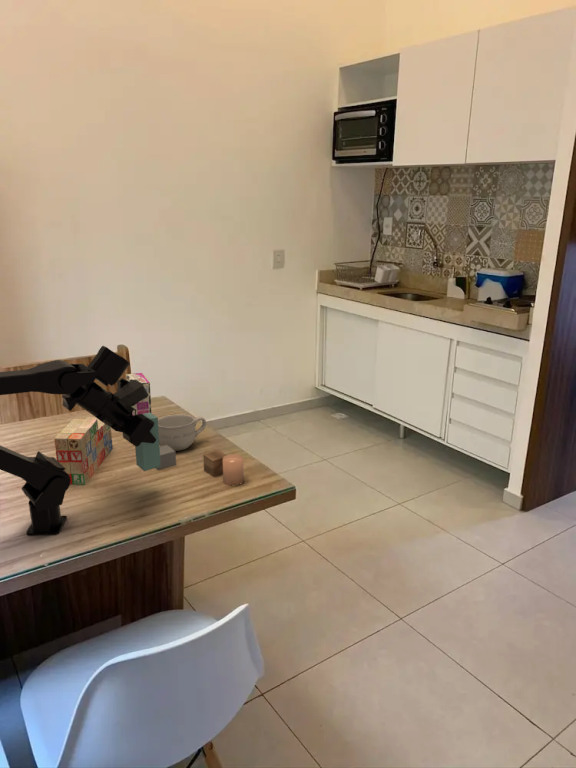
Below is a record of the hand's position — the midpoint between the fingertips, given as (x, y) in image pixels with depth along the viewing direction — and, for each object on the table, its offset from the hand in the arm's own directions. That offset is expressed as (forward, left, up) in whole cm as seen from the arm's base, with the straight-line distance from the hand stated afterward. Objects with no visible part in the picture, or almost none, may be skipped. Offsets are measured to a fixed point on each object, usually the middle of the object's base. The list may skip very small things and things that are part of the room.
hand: (150, 438), depth 131 cm
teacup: (+26, -4, -14) cm, 30 cm away
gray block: (+15, 0, -14) cm, 20 cm away
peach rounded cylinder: (+4, -18, -14) cm, 23 cm away
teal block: (-1, +1, -7) cm, 7 cm away
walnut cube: (+10, -14, -14) cm, 22 cm away
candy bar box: (+37, +9, -14) cm, 40 cm away
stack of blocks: (+15, +19, -14) cm, 28 cm away
